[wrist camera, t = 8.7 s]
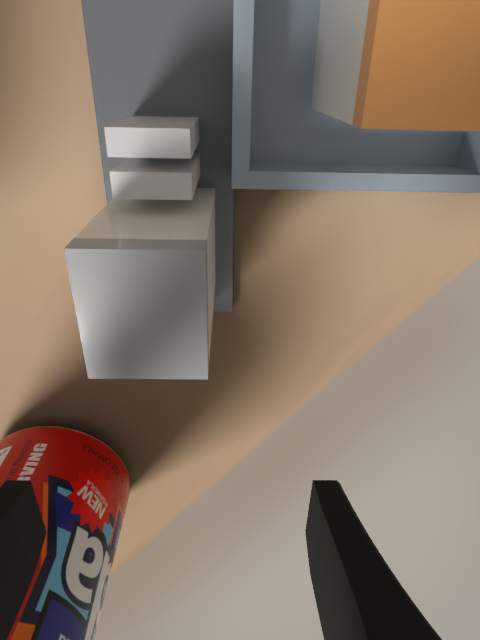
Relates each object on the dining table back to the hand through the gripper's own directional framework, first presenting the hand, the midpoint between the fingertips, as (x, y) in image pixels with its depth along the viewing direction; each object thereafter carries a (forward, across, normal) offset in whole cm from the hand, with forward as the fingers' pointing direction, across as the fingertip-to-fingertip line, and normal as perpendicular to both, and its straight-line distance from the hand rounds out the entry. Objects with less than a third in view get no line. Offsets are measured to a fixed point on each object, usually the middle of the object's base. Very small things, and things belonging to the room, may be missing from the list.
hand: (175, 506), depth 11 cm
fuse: (+10, +1, -4) cm, 11 cm away
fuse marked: (+10, -6, -11) cm, 16 cm away
